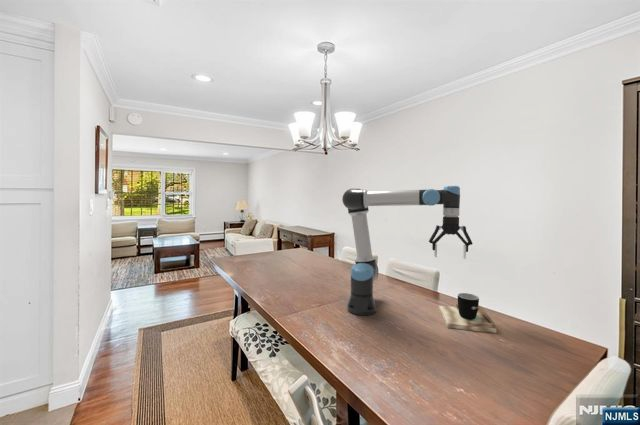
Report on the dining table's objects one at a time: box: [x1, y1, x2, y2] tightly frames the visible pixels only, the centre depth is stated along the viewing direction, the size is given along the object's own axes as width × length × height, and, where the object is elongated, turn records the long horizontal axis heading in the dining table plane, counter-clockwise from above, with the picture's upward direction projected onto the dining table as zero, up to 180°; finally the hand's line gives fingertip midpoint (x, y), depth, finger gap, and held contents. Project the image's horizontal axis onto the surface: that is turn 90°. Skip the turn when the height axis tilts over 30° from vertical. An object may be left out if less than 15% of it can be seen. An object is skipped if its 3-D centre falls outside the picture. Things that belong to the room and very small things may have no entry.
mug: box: [457, 292, 480, 320], centre depth 131 cm, size 12×9×10 cm
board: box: [438, 303, 498, 334], centre depth 132 cm, size 20×21×4 cm
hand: (449, 257), depth 140 cm, fingers open, 13 cm apart
